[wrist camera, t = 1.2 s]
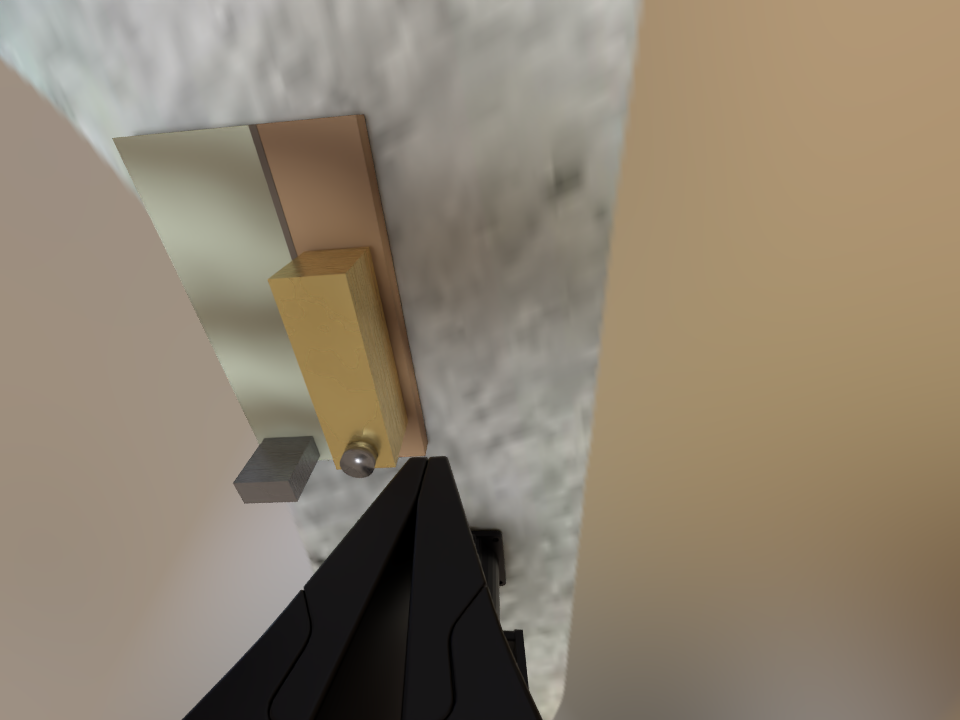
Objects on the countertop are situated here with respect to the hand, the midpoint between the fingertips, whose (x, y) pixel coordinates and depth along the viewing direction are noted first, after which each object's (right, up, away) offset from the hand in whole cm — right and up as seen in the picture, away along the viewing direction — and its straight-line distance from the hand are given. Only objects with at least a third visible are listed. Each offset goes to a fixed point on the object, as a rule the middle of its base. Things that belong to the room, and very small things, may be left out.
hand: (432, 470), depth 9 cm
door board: (-8, +5, +13) cm, 16 cm away
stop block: (-10, -3, +16) cm, 19 cm away
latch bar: (-5, +3, +12) cm, 13 cm away
